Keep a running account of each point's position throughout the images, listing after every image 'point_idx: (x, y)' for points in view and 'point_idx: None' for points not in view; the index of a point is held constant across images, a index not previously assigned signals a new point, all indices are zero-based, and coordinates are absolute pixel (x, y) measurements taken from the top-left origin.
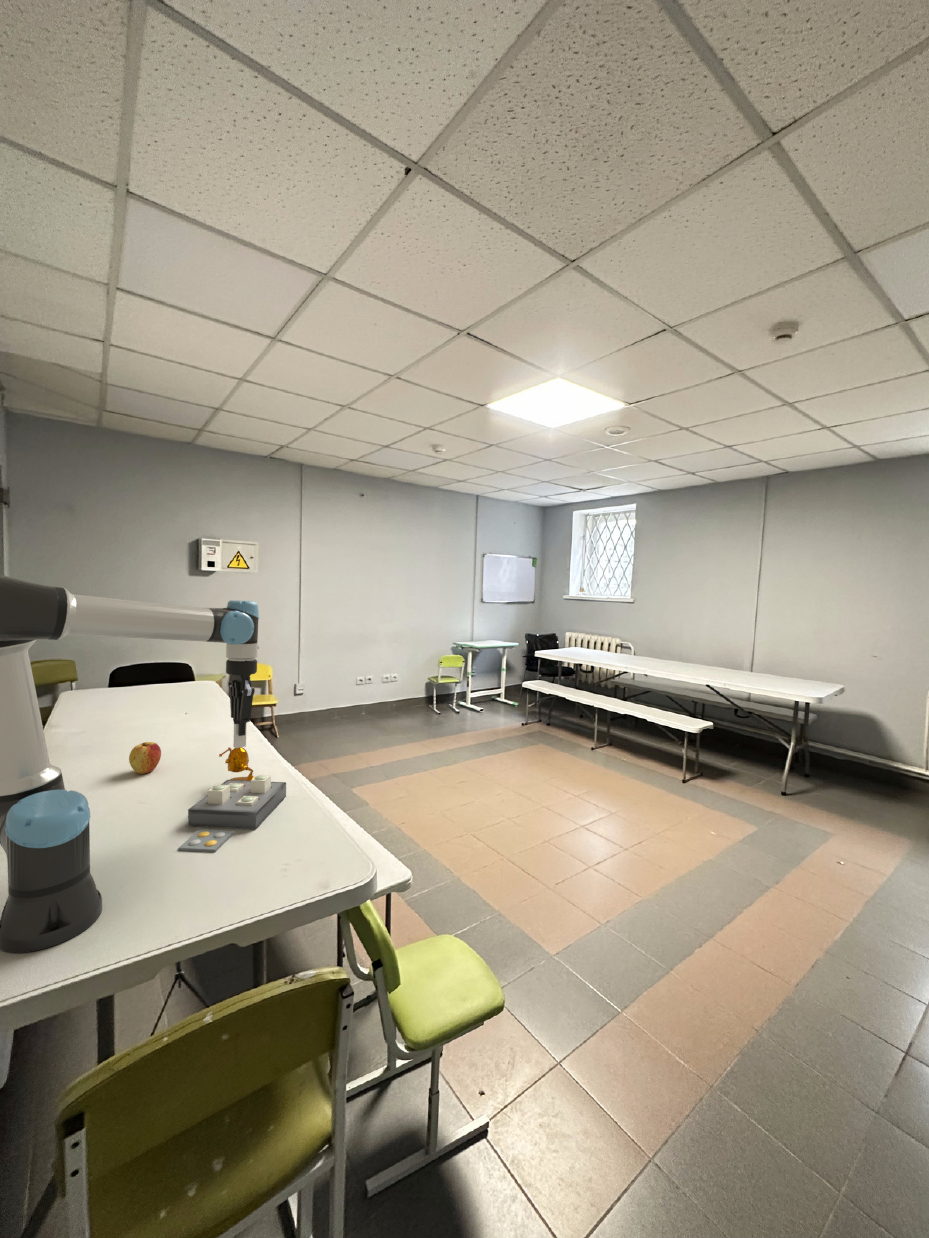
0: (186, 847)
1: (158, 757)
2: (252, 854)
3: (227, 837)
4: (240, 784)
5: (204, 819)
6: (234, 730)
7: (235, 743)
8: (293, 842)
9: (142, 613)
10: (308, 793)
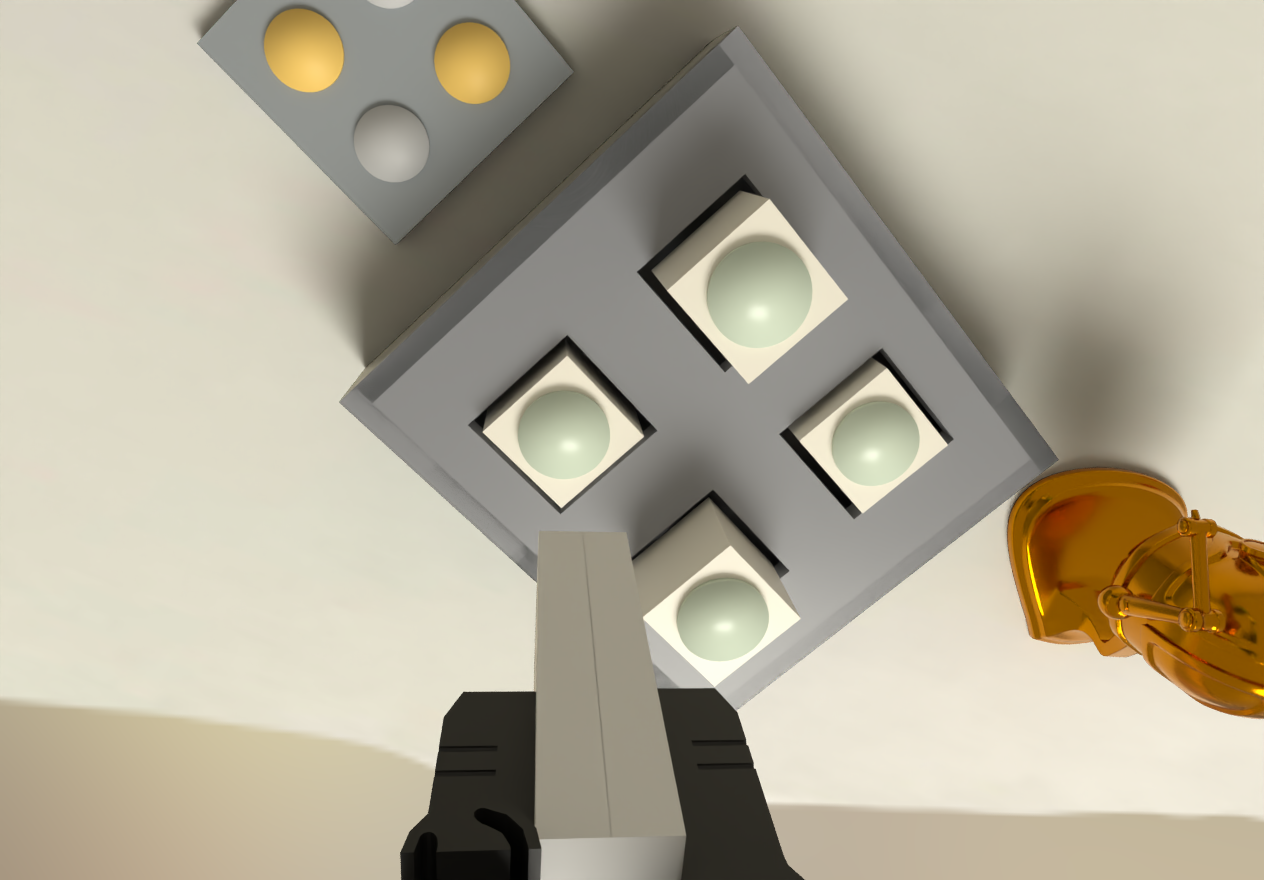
0: None
1: None
2: (31, 220)
3: (326, 174)
4: (867, 491)
5: (626, 124)
6: (615, 704)
7: (539, 568)
8: (49, 469)
9: None
10: None
